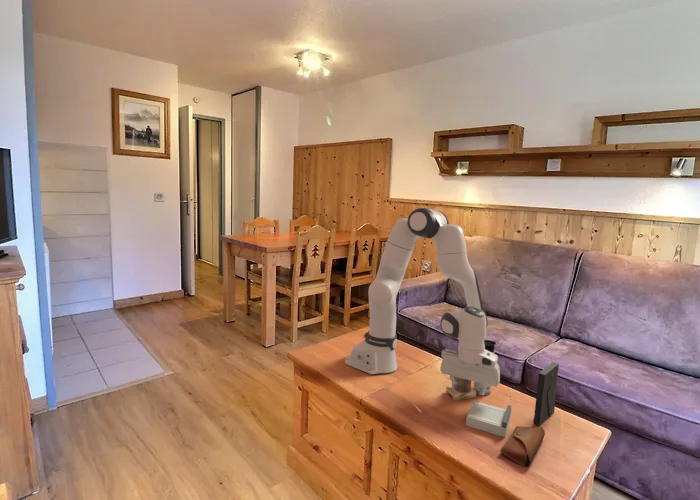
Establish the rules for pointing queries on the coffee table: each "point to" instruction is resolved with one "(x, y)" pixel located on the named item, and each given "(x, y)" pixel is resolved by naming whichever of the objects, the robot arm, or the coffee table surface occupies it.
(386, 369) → the robot arm
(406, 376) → the coffee table surface
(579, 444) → the coffee table surface
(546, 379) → the picture frame
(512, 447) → the sunglasses case
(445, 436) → the coffee table surface
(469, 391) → the pallet
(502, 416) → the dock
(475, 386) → the travel mug
